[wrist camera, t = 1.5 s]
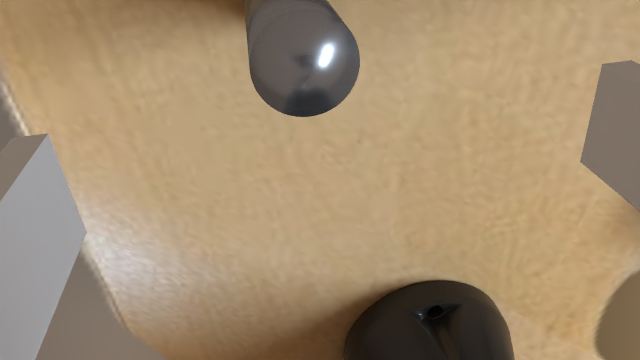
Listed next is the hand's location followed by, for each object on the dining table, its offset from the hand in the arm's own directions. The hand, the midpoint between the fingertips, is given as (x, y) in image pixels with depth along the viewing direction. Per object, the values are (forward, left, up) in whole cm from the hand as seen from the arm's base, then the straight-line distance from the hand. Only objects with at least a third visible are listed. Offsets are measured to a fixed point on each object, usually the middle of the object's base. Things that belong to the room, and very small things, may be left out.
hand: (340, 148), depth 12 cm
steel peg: (0, 0, -21) cm, 21 cm away
